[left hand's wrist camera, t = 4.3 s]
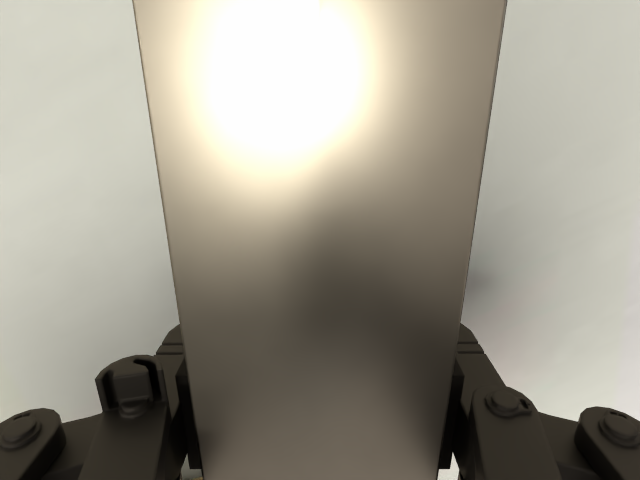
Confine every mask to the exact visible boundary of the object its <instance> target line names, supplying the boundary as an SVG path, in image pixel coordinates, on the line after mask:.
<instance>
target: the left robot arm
mask: <svg viewBox="0 0 640 480" xmlns="http://www.w3.org/2000/svg"><path fill="white" fill-rule="evenodd" d="M95 382H96V386H97V390H98V394H99V398H100V402H101V406H102V410H103V412H102V413H101V414H98V415H95V416H91V417H88V418H83V419H79V420H75V421H71V422H66V423H62V422H61V419H60V415H59V414H58V413H56V412H55V411H54V410H51V409H46V408H40V409H33V410H28V411H25V412H22V413H20V414H17V415H14V416H12V417H11V418H9V419H7V420H5V421H3V422H2V423H0V480H182V475H181V468H182V465H183V463H184V460H185V457H186V455H187V454H188V460H189V467H190V469H201V463H200V457H199V450H198V443H197V436H196V429H195V423H194V416H193V409H192V402H191V395H190V389H189V382H188V375H187V368H186V362H185V355H184V348H183V341H182V334H181V328H180V324H179V325H177V326H176V327H175V328H173V329H172V330H171V331H170V332H169V333H168V334H167V336H166V338H165V339H164V341H163V342H162V345H161V346H160V347H159V349H158V350H157V352H156V355H154V357H153V356H150V355H134V356H130V357H126V358H122V359H120V360H118V361H116V362H114V363H111V364H110V365H109V366H107V367H106V368H105V369H103V370H102V371H101V372H100V373H99V375H98V376H97V377H96V379H95ZM452 453H454V456H455V459H456V462H457V464H458V467H459V475H458V480H640V421H638V420H636V419H635V418H633V417H631V416H629V415H627V414H625V413H623V412H620V411H617V410H614V409H611V408H605V407H591V408H586V409H585V410H584V411H583V412H582V413H581V414H580V418H579V421H578V422H576V421H572V420H568V419H563V418H559V417H555V416H551V415H547V414H544V413H541V412H538V411H537V409H536V408H535V406H534V404H533V403H532V401H530V400H529V399H528V398H527V397H526V396H525V395H523V394H522V393H520V392H518V391H516V390H514V389H512V388H510V387H506V386H505V384H504V382H503V381H502V379H501V378H500V376H499V374H498V373H497V371H496V370H495V368H494V367H493V365H492V363H491V362H490V360H489V359H488V357H487V355H486V354H484V351H483V349H482V348H481V346H480V344H478V341H477V340H476V338H475V336H474V335H473V333H472V332H471V330H469V329H468V328H467V327H465V326H464V325H463V324H461V323H460V328H459V335H458V341H457V348H456V355H455V362H454V369H453V376H452V382H451V389H450V396H449V403H448V410H447V417H446V423H445V430H444V437H443V444H442V451H441V458H440V464H439V469H450V465H451V459H452Z"/></svg>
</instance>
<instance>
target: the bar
mask: <svg viewBox="0 0 640 480" xmlns="http://www.w3.org/2000/svg"><path fill="white" fill-rule="evenodd" d="M132 1H133V8H134V15H135V22H136V29H137V35H138V42H139V49H140V56H141V63H142V69H143V76H144V83H145V90H146V97H147V103H148V110H149V117H150V124H151V131H152V137H153V144H154V151H155V158H156V165H157V171H158V178H159V185H160V192H161V198H162V205H163V212H164V219H165V226H166V232H167V239H168V246H169V253H170V260H171V266H172V273H173V280H174V287H175V294H176V300H177V307H178V314H179V321H180V328H181V334H182V341H183V348H184V355H185V362H186V368H187V375H188V382H189V389H190V395H191V402H192V409H193V416H194V423H195V429H196V436H197V443H198V450H199V457H200V463H201V470H202V477H203V480H437V478H438V471H439V464H440V458H441V451H442V444H443V437H444V430H445V423H446V417H447V410H448V403H449V396H450V389H451V382H452V376H453V369H454V362H455V355H456V348H457V341H458V335H459V328H460V321H461V314H462V307H463V300H464V293H465V287H466V280H467V273H468V266H469V259H470V252H471V246H472V239H473V232H474V225H475V218H476V211H477V205H478V198H479V191H480V184H481V177H482V170H483V163H484V157H485V150H486V143H487V136H488V129H489V122H490V116H491V109H492V102H493V95H494V88H495V81H496V75H497V68H498V61H499V54H500V47H501V40H502V34H503V27H504V20H505V13H506V6H507V0H132Z"/></svg>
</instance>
